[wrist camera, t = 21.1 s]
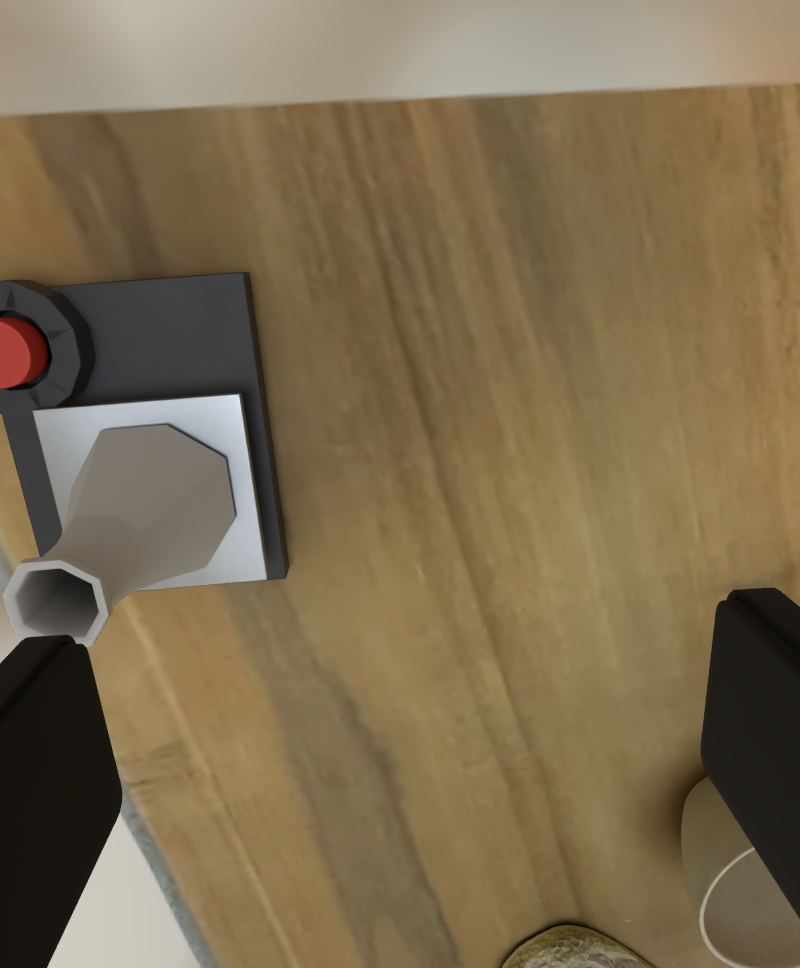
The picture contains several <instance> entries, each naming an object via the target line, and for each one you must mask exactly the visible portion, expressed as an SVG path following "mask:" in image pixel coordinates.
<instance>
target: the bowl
mask: <svg viewBox="0 0 800 968" xmlns="http://www.w3.org/2000/svg"><path fill="white" fill-rule="evenodd" d="M681 852H682V863H683V870H684V877H685V882H686V887H687V892H688V895H689V899H690V903H691V907H692V910H693V913H694V916H695V919H696V922H697V925H698V928H699V930H700V933H701V935H702V938H703V940H704V942H705V944H706V945H707V947H708V948H709V950H710V951H711V952H712V953H713V954H714V955H715V956H716V957H717V958H719V959H720V960H721V961H723V962H724V963H726V964H728V965H730V966H732V967H734V968H800V919H799V917H798V916H797V914H796V913H795V911H794V910H793V908H792V906H791V905H790V903H789V902H788V900H787V899H786V897H785V895H784V894H783V892H782V891H781V889H780V888H779V886H778V885H777V883H776V881H775V880H774V878H773V877H772V875H771V874H770V872H769V870H768V869H767V867H766V866H765V864H764V863H763V861H762V860H761V858H760V856H759V855H758V853H757V852H756V850H755V849H754V847H753V845H752V844H751V842H750V841H749V839H748V838H747V836H746V835H745V833H744V831H743V830H742V828H741V827H740V825H739V824H738V822H737V820H736V819H735V817H734V816H733V814H732V813H731V811H730V810H729V808H728V806H727V805H726V803H725V802H724V800H723V799H722V797H721V795H720V794H719V792H718V791H717V789H716V788H715V786H714V785H713V783H712V781H711V780H710V778H709V777H708V776H707V777H705V778H704V779H702V780H701V781H700V782H698V783H697V784H696V785H695V786H694V787H693V788H692V790H691V791H690V792H689V794H688V796H687V798H686V801H685V804H684V809H683V815H682V826H681Z"/></svg>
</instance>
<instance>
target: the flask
mask: <svg viewBox="0 0 800 968" xmlns="http://www.w3.org/2000/svg"><path fill="white" fill-rule="evenodd" d="M234 520H235V512H234V506H233V500H232V495H231V489H230V483H229V477H228V471H227V465H226V459H225V458H224V457H222V456H221V455H219V454H217V453H215V452H213V451H212V450H210V449H208V448H206V447H205V446H203V445H201V444H199V443H198V442H196V441H194V440H192V439H191V438H189V437H187V436H185V435H183V434H182V433H180V432H178V431H176V430H175V429H173V428H171V427H169V426H168V425H159V426H147V427H135V428H123V429H111V430H100V432H99V434H98V436H97V438H96V440H95V442H94V444H93V446H92V448H91V450H90V452H89V454H88V456H87V457H86V459H85V461H84V463H83V465H82V467H81V469H80V471H79V473H78V475H77V477H76V479H75V481H74V483H73V486H72V490H71V494H70V500H69V506H68V511H67V516H66V520H65V524H64V527H63V531H62V535H61V538H60V539H59V541H58V542H57V544H56V545H55V546H54V547H53V548H52V549H51V550H49V551H48V552H47V553H46V554H45V555H44V556H43V557H38V558H27V559H24V560H22V561H21V562H20V563H19V564H18V566H17V568H16V570H15V572H14V574H13V576H12V578H11V580H10V582H9V584H8V586H7V588H6V590H5V592H4V594H3V599H4V602H5V606H6V609H7V612H8V616H9V619H10V622H11V626H12V629H13V632H15V633H17V634H19V635H21V636H23V637H25V638H27V637H36V636H51V635H66V634H68V635H70V636H72V637H73V639H74V640H75V642H76V644H80V643H81V644H83V645H85V647H90V646H92V645H93V644H94V643H95V642H96V640H97V638H98V636H99V634H100V633H101V631H102V629H103V627H104V626H105V624H106V622H107V620H108V618H109V617H110V615H111V613H112V610H113V606H114V605H115V604H117V603H118V602H120V601H121V600H122V599H124V598H125V597H127V596H128V595H130V594H131V593H132V592H134V591H136V590H139V589H141V588H144V587H147V586H150V585H152V584H155V583H158V582H161V581H163V580H166V579H169V578H172V577H176V576H179V575H183V574H186V573H190V572H193V571H197V570H200V569H202V568H205V567H207V565H208V564H209V562H210V560H211V559H212V557H213V555H214V554H215V552H216V550H217V548H218V547H219V545H220V543H221V542H222V540H223V538H224V537H225V535H226V533H227V532H228V530H229V528H230V527H231V525H232V523H233V522H234Z"/></svg>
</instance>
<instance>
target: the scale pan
mask: <svg viewBox="0 0 800 968" xmlns="http://www.w3.org/2000/svg"><path fill="white" fill-rule="evenodd" d="M32 412H33V416H34V420H35V424H36V428H37V432H38V435H39V439H40V443H41V447H42V451H43V455H44V459H45V463H46V467H47V471H48V475H49V479H50V483H51V487H52V491H53V495H54V499H55V503H56V507H57V511H58V515H59V519H60V523H61V527H62V531H63V527H64V524H65V520H66V516H67V511H68V506H69V500H70V494H71V490H72V486H73V483H74V481H75V479H76V477H77V475H78V473H79V471H80V469H81V467H82V465H83V463H84V461H85V459H86V457H87V456H88V454H89V452H90V450H91V448H92V446H93V444H94V442H95V440H96V438H97V436H98V434H99V432H100V430H111V429H123V428H135V427H147V426H159V425H168V426H169V427H171V428H173V429H175V430H176V431H178V432H180V433H182V434H183V435H185V436H187V437H189V438H191V439H192V440H194V441H196V442H198V443H199V444H201V445H203V446H205V447H206V448H208V449H210V450H212V451H213V452H215V453H217V454H219V455H221V456H222V457H224V458H225V459H226V465H227V471H228V477H229V483H230V489H231V495H232V500H233V506H234V512H235V520H234V522H233V523H232V525H231V527H230V528H229V530H228V532H227V533H226V535H225V537H224V538H223V540H222V542H221V543H220V545H219V547H218V548H217V550H216V552H215V554H214V555H213V557H212V559H211V560H210V562H209V564H208V565H207V567H205V568H202V569H200V570H197V571H193V572H190V573H186V574H183V575H179V576H176V577H172V578H169V579H166V580H163V581H161V582H158V583H155V584H152V585H150V586H147V587H144V588H141V589H139V590H151V589H163V588H175V587H187V586H199V585H211V584H223V583H235V582H247V581H259V580H267V579H268V576H269V572H268V565H267V559H266V552H265V545H264V538H263V532H262V525H261V518H260V512H259V505H258V498H257V491H256V485H255V478H254V471H253V465H252V458H251V451H250V444H249V438H248V431H247V424H246V418H245V411H244V404H243V397H242V393H241V392H233V393H220V394H208V395H195V396H182V397H169V398H157V399H144V400H131V401H119V402H106V403H93V404H80V405H68V406H55V407H42V408H36V409H34V410H32ZM139 590H136V591H139Z"/></svg>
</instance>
